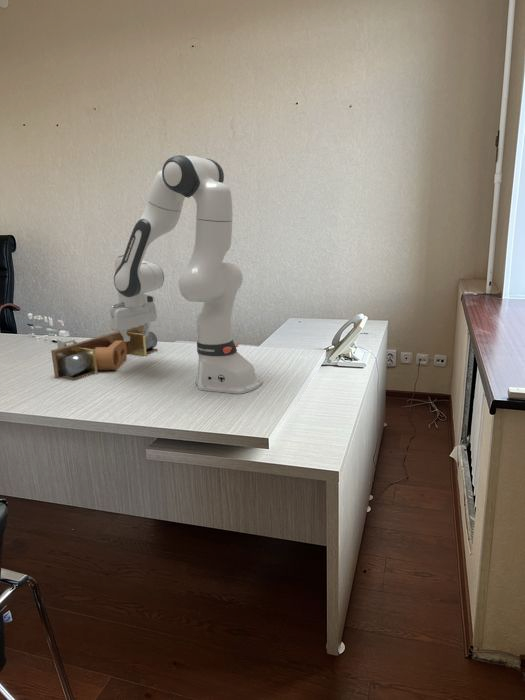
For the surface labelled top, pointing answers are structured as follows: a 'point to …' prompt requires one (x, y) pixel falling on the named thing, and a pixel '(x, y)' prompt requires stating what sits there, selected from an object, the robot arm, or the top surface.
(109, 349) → the tan piece
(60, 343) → the electrical component
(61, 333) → the plumbing parts
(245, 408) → the top surface
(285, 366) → the top surface
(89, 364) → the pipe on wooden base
